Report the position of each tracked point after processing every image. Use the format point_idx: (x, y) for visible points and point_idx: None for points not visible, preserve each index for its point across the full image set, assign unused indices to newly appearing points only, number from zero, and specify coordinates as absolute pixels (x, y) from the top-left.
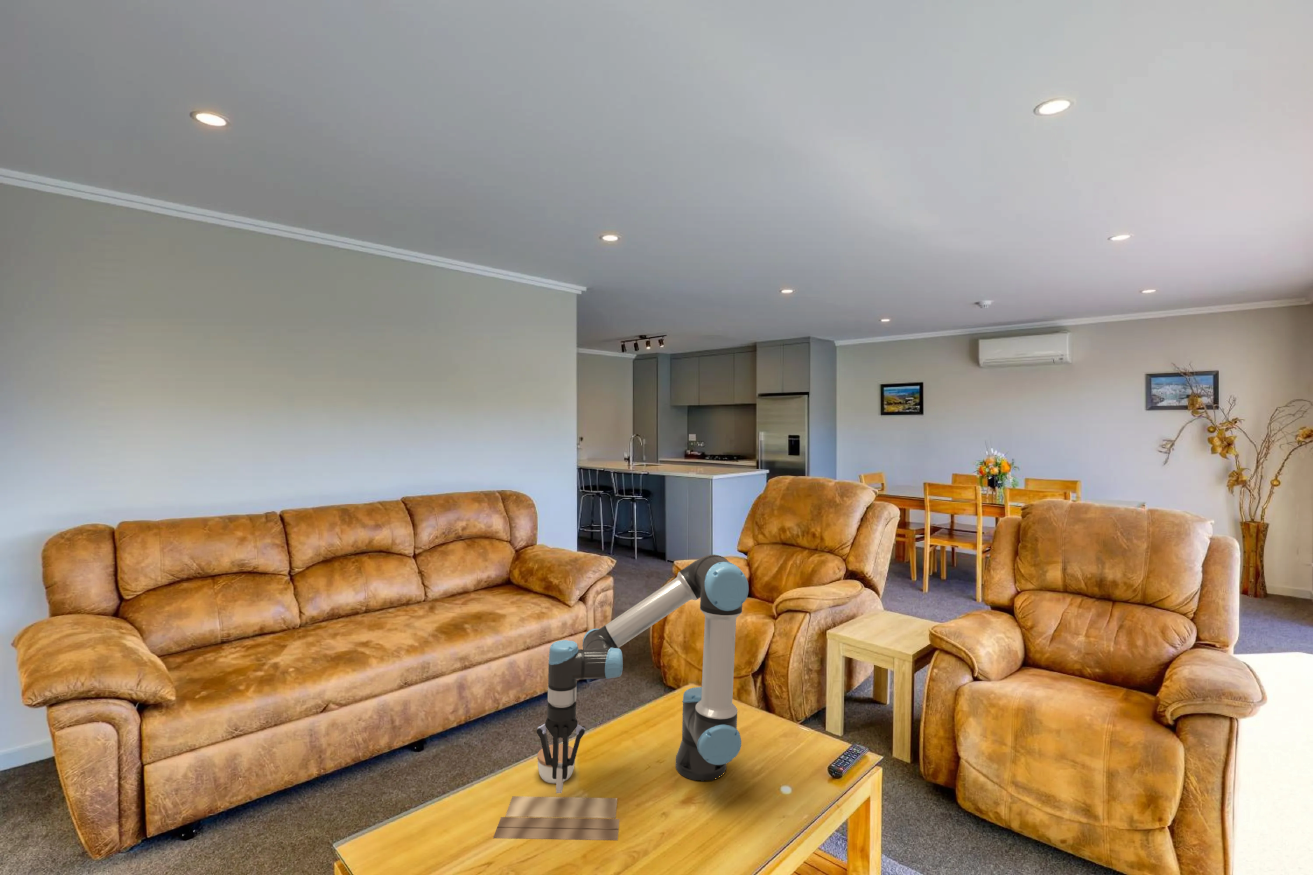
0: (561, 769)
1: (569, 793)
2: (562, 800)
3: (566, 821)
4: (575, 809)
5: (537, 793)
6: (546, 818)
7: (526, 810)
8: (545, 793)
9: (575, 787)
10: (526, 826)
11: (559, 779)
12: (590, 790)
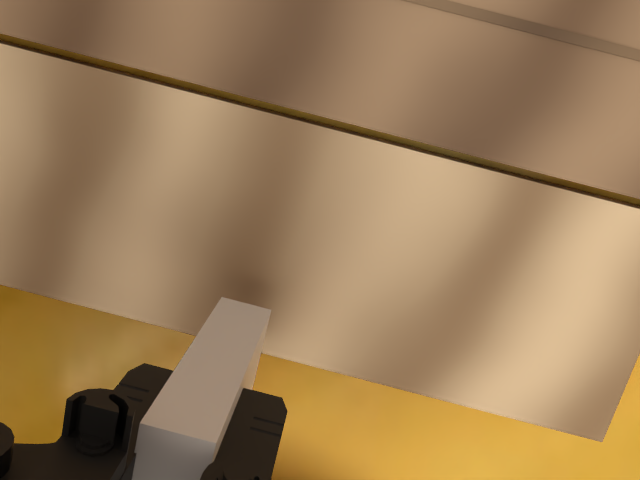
0: (155, 418)
1: None
2: None
3: (216, 42)
4: (138, 178)
5: (398, 469)
6: (371, 119)
7: (516, 253)
8: (344, 457)
9: None
10: (545, 48)
11: (212, 359)
12: (42, 416)
